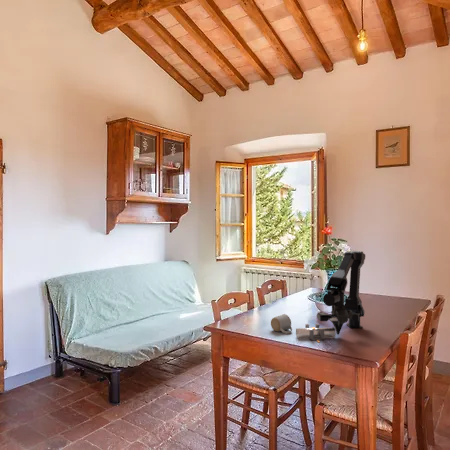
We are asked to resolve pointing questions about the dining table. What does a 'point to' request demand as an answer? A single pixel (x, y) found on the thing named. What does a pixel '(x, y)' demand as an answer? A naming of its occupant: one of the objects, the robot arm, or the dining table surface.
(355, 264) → the robot arm
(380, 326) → the dining table surface
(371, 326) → the dining table surface
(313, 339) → the collar rig
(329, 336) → the tube
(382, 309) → the dining table surface
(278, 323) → the ceramic mug
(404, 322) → the dining table surface
